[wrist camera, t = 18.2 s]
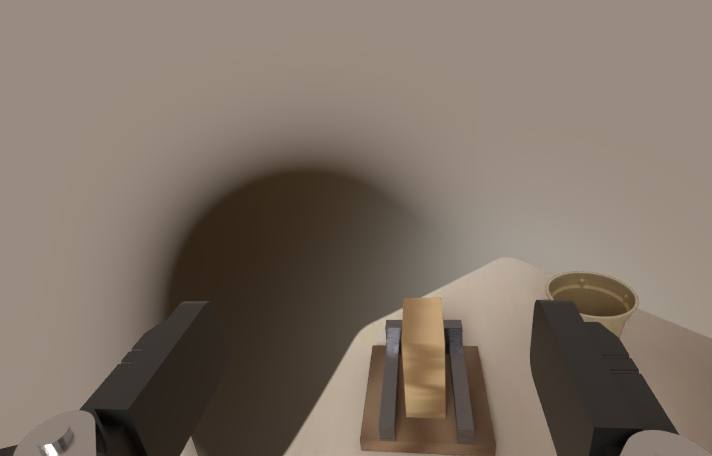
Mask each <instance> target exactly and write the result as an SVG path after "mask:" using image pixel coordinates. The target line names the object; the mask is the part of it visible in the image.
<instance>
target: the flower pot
mask: <svg viewBox="0 0 712 456" xmlns="http://www.w3.org/2000/svg"><path fill="white" fill-rule="evenodd" d="M546 294H547V296H548V298H549V300H572V301H573V302H574V304H575V306H576V308H577V309H578V311H579V313H580V315H581V317H582V319H583V320H584V322H600V323H601V324H602V325H603V326H605V327H606V328H607V329H608V330H610V331H611V332H612V333H614V334H615V335H616V336H617V337H618V338H619V337H620V334H621V332H622V329H623V327H624V324H625V322H626V321H627V320H628V319H629V317H630V316H631V314H632V313H634V312H635V311H636V309H637V307H638V303H639V299H638V296H637V294H636V293H635V291H634V290H633V289H631V287H629V286H628V285H626V284H625V283H623V282H622V281H619V280H618V279H615V278H613V277H610V276H607V275H603V274H598V273H593V272H583V271H575V272H567V273H562V274H559V275H556V276H554V277H552V278H551V279H550V280H549V281H548V282H547V284H546Z"/></svg>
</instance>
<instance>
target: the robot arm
mask: <svg viewBox="0 0 712 456" xmlns="http://www.w3.org/2000/svg"><path fill="white" fill-rule="evenodd" d="M228 354H229V353H228V346H227V342H226V339H225V335H224V332H223V328H222V325H221V321H220V317H219V314H218V311H217V307H216V305H215V304H214V303H213V302H182V303H181V304H180V305H179V306H178V307H177V308H176V309H175V311H174V312H173V313H172V314H171V316H170V317H169V318H168V319H167V320H166V321H162V322H161V323H159V324H158V325H156V326H155V327H153V328H152V329H151V330H149V331H148V332H146V333H145V334H144V335H143V336H142V337H141V338H140V340H139V341H138V342H137V343H136V344H135V345H134V347H133V348H132V351H131V352H128V354H127V355H126V356H125V357H124V358H123V359H122V361H121V364H118V365H117V367H116V368H115V369H114V370H113V371H112V372H111V374H110V375H109V376H108V377H107V378H106V379H105V381H104V382H103V383H102V384H101V385H100V387H99V388H98V389H97V390H96V391H95V392H94V393H93V395H92V396H91V397H90V398H89V399H88V400H87V402H86V403H85V404H84V405H83V407H81V409H80V410H76V411H69V412H65V413H62V414H59V415H56V416H54V417H52V418H50V419H48V420H46V421H45V422H43V423H42V424H40V425H38V426H37V427H36V428H34V429H33V430H32V431H31V432H29V434H27V435H26V436H25V437H24V439H23V440H22V441H21V442H20V443H19V445H16V446H11V447H7V448H3V449H0V456H180V455H181V453H182V451H183V449H184V448H185V446H186V444H187V442H188V440H189V438H190V436H191V435H192V433H193V431H194V429H195V427H196V425H197V423H198V422H199V420H200V418H201V416H202V414H203V412H204V410H205V409H206V407H207V405H208V403H209V401H210V399H211V397H212V396H213V393H214V392H215V390H216V388H217V386H218V384H219V383H220V381H221V379H222V377H223V375H224V373H225V371H226V368H227V364H228ZM530 364H531V371H532V376H533V380H534V383H535V386H536V389H537V393H538V396H539V399H540V402H541V405H542V408H543V411H544V415H545V418H546V421H547V424H548V427H549V430H550V433H551V436H552V440H553V443H554V446H555V449H556V452H557V455H558V456H712V454H711V453H709V452H708V451H707V450H705V449H704V448H703V447H701V446H700V445H698V444H696V443H695V442H693V441H691V440H689V439H687V438H685V437H682V436H680V435H679V434H678V432H677V431H676V429H675V427H674V426H673V424H672V423H671V421H670V419H669V418H668V416H667V415H666V413H665V411H664V410H663V408H662V407H661V405H660V403H659V402H658V400H657V399H656V397H655V395H654V394H653V392H652V391H651V389H650V387H649V386H648V384H647V383H646V381H645V379H644V378H643V376H642V375H641V374H639V370H638V368H637V367H636V365H635V363H634V362H633V360H632V359H630V358H629V354H628V352H627V350H626V349H625V347H624V346H623V344H622V342H621V341H620V339H619V338H618V337H617V336H616V335H615V334H614V333H612V332H611V331H610V330H608V329H607V328H606V327H605V326H603V325H602V324H601V323H600V322H584V320H583V319H582V317H581V315H580V313H579V311H578V309H577V308H576V306H575V304H574V302H573V301H572V300H536V302H535V306H534V314H533V325H532V336H531V347H530Z"/></svg>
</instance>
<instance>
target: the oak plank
mask: <svg viewBox="0 0 712 456" xmlns="http://www.w3.org/2000/svg"><path fill="white" fill-rule="evenodd" d="M401 342H402V357H403V372H404V387H405V402H406V417H416V418H445V419H446V401H445V339H444V326H443V314H442V301H441V298H404V302H403V321H402V340H401Z"/></svg>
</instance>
